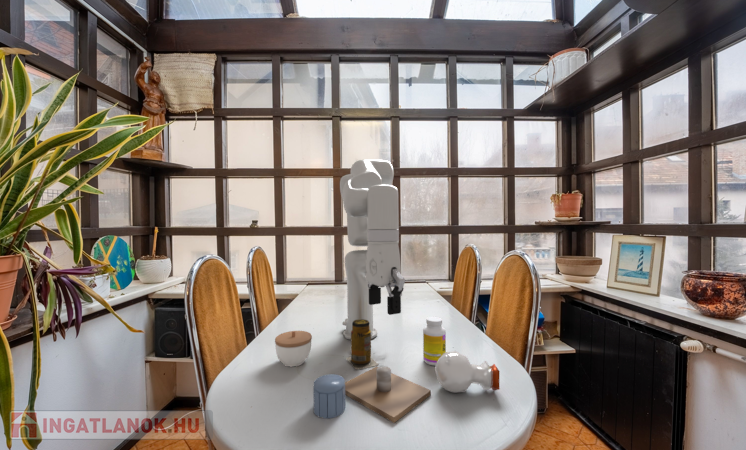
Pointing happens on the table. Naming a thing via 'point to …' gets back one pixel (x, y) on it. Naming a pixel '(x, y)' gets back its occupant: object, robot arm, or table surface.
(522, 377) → the table surface
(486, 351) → the table surface
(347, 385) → the post base
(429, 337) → the supplement bottle
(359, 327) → the condiment
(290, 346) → the lidded jar
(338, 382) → the cap
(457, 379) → the potion bottle
